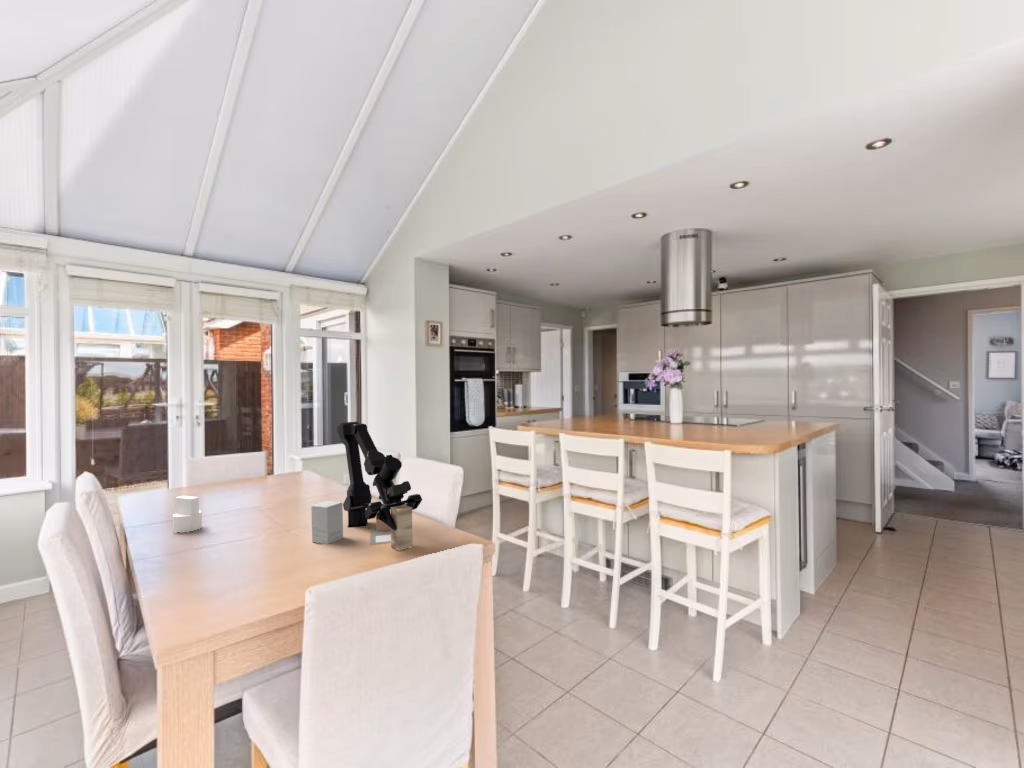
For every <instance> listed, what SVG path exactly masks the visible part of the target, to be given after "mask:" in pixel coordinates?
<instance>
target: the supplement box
mask: <svg viewBox="0 0 1024 768" xmlns="http://www.w3.org/2000/svg"><path fill="white" fill-rule="evenodd" d="M310 507H311V509H310V510H311V542H312V543H314V542H315V544H320V545H322V544H326V545H328V544H331V543H334V542H336V541H338V540H341V539H343V538H344V526H343V525H344V523H343V522H344V520H343V517H344V516H343V515H344V514H343V502H342V501H331V500H325V501H321V502H319V503H315V504H312V505H311V506H310Z"/></svg>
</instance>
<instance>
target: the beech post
mask: <svg viewBox="0 0 1024 768" xmlns="http://www.w3.org/2000/svg"><path fill="white" fill-rule="evenodd" d="M390 514H391V516H392V518H393V520H394V522H395V525H396V528H397V529H396V531H394V530H393V529H392V528H391V543H390V548H391V547H392V549H393V548H394V550H395V549H396V551H397V550H398V552H401V551H404V550H403V549H405V550H407V549H406V548H408V549H411V548H410V547H412V548H413V510H412V507H409V506H407V505H400V506H395V507H391V509H390ZM400 550H401V551H400Z"/></svg>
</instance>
